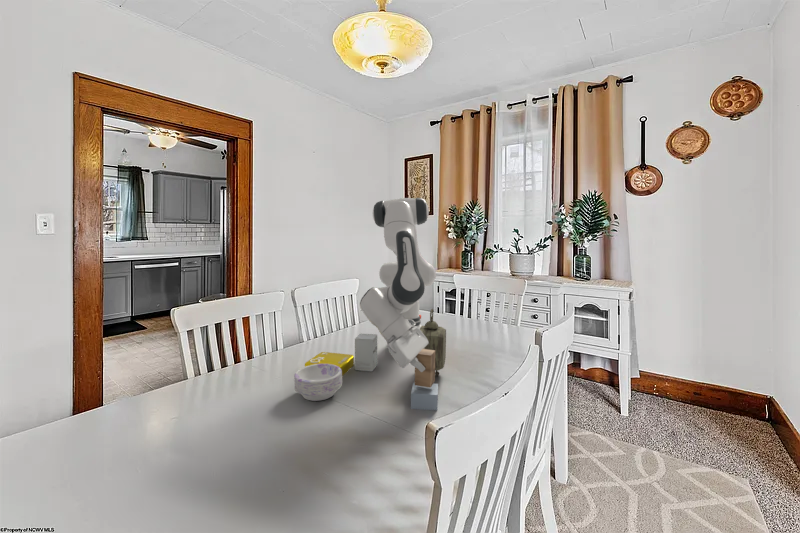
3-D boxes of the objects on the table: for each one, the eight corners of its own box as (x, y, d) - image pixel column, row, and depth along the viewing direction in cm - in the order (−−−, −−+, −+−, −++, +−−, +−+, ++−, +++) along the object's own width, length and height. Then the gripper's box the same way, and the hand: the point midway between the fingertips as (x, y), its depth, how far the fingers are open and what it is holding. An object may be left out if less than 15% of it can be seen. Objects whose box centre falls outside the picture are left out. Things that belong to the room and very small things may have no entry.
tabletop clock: (422, 367, 145) (423, 304, 143) (445, 369, 143) (446, 305, 141) (416, 382, 131) (417, 312, 129) (442, 384, 129) (443, 314, 127)
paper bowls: (284, 401, 117) (284, 376, 116) (312, 382, 131) (311, 360, 130) (326, 409, 111) (326, 384, 110) (350, 389, 126) (350, 366, 125)
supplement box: (372, 371, 140) (372, 339, 139) (354, 370, 142) (354, 338, 141) (377, 364, 148) (377, 334, 146) (360, 363, 149) (359, 332, 148)
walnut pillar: (419, 378, 118) (420, 348, 117) (434, 381, 116) (435, 350, 115) (414, 385, 113) (415, 353, 112) (430, 387, 112) (430, 355, 111)
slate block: (413, 397, 120) (413, 382, 119) (437, 398, 119) (438, 383, 118) (410, 409, 112) (410, 393, 111) (437, 410, 111) (437, 395, 111)
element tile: (339, 379, 134) (339, 367, 134) (302, 375, 138) (302, 362, 137) (355, 365, 148) (355, 353, 148) (321, 361, 152) (321, 350, 152)
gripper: (391, 335, 106) (424, 372, 103) (414, 318, 125) (442, 350, 122) (377, 348, 108) (409, 385, 105) (402, 330, 127) (429, 361, 124)
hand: (427, 366), depth 114 cm, fingers closed on walnut pillar, 5 cm apart
